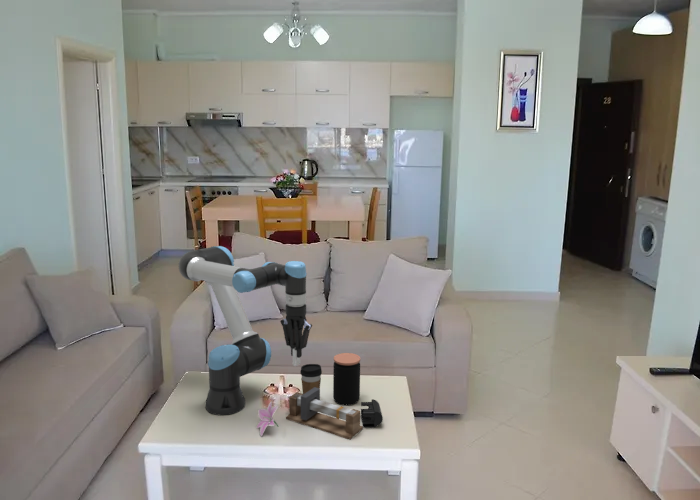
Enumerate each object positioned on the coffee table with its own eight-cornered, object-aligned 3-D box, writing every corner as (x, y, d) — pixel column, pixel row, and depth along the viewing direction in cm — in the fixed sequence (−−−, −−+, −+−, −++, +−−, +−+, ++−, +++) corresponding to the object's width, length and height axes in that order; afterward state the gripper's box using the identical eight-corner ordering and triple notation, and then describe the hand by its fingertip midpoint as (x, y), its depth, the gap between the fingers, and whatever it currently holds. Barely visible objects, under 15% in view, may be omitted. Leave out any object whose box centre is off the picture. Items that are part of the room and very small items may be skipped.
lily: (260, 421, 226) (249, 404, 221) (289, 411, 224) (278, 394, 220) (259, 446, 215) (247, 429, 211) (289, 435, 214) (278, 418, 209)
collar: (300, 418, 222) (300, 396, 220) (314, 409, 229) (314, 387, 227) (306, 420, 221) (306, 397, 219) (319, 410, 228) (319, 388, 226)
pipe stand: (285, 418, 226) (285, 398, 224) (300, 409, 233) (299, 389, 231) (349, 439, 212) (350, 418, 210) (362, 428, 219) (363, 408, 217)
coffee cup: (318, 407, 235) (318, 371, 231) (297, 405, 236) (297, 369, 233) (323, 398, 243) (324, 363, 240) (303, 396, 244) (303, 361, 241)
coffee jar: (364, 397, 244) (365, 355, 240) (352, 408, 235) (352, 365, 231) (341, 392, 249) (341, 350, 245) (328, 402, 239) (328, 359, 235)
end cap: (382, 428, 220) (383, 411, 219) (363, 428, 220) (363, 411, 218) (379, 415, 230) (379, 398, 228) (360, 415, 229) (360, 399, 228)
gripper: (275, 303, 219) (276, 364, 224) (304, 309, 213) (304, 372, 218) (287, 298, 226) (288, 357, 231) (316, 304, 219) (316, 365, 224)
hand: (296, 364), depth 224 cm, fingers closed
